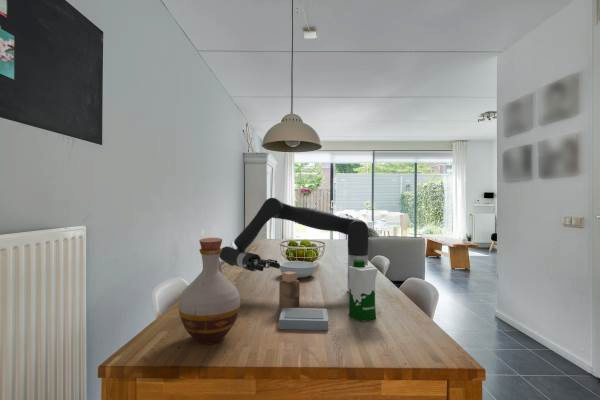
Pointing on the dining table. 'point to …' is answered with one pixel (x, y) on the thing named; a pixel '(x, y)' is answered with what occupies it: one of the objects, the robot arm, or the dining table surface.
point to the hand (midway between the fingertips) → (271, 267)
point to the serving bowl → (298, 268)
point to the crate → (289, 294)
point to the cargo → (289, 276)
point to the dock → (303, 319)
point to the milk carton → (362, 291)
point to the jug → (209, 298)
